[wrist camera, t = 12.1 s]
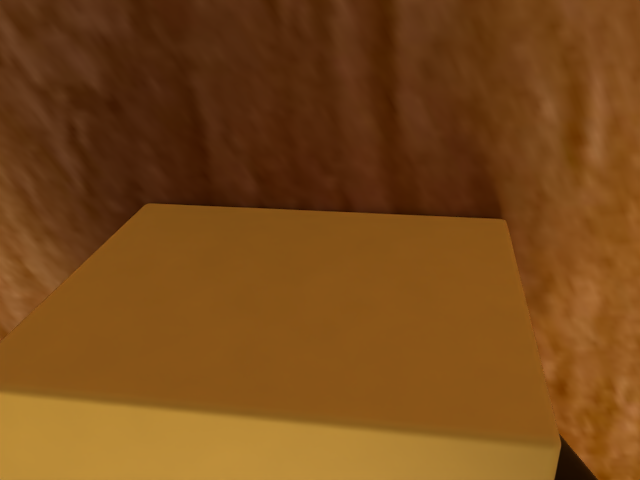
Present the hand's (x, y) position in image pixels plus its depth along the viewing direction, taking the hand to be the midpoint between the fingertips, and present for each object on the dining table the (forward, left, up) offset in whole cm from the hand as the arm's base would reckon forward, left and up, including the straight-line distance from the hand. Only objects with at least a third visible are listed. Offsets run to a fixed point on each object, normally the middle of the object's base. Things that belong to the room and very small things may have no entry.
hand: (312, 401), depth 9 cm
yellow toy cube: (0, 0, -1) cm, 1 cm away
